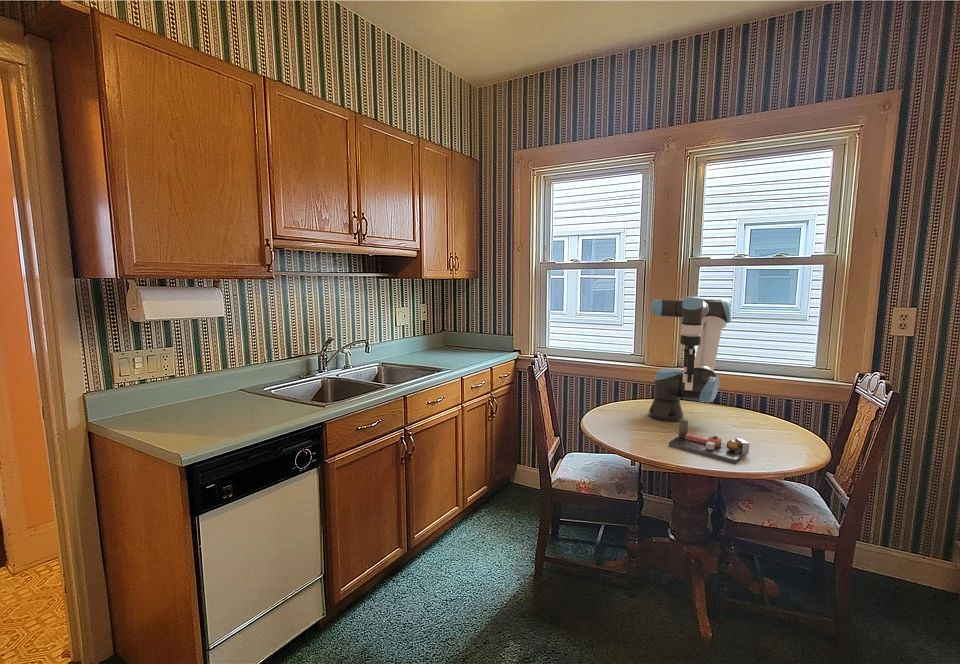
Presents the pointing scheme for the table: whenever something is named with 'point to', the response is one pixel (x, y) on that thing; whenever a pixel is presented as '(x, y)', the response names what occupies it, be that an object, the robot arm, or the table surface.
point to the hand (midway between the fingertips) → (687, 386)
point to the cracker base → (726, 452)
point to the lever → (710, 443)
